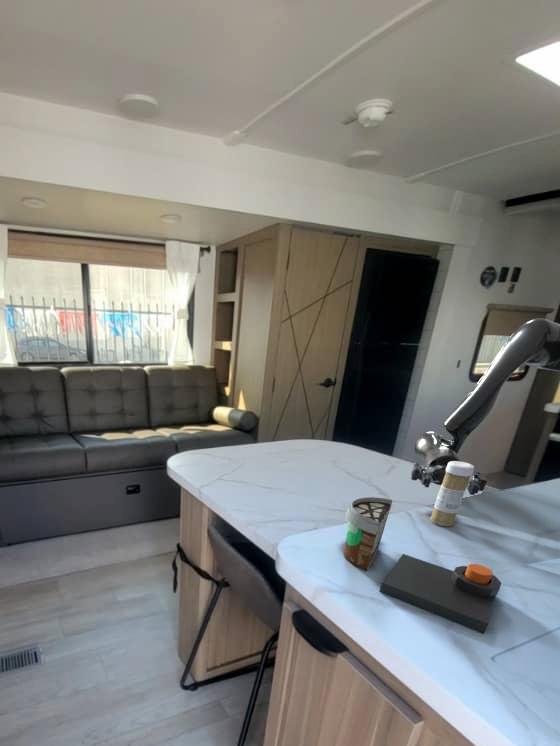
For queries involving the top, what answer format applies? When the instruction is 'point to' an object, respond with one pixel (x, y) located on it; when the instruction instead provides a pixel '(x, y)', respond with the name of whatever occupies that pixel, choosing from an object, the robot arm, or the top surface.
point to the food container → (365, 529)
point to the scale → (442, 591)
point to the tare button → (478, 573)
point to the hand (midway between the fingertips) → (450, 487)
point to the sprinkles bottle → (451, 493)
